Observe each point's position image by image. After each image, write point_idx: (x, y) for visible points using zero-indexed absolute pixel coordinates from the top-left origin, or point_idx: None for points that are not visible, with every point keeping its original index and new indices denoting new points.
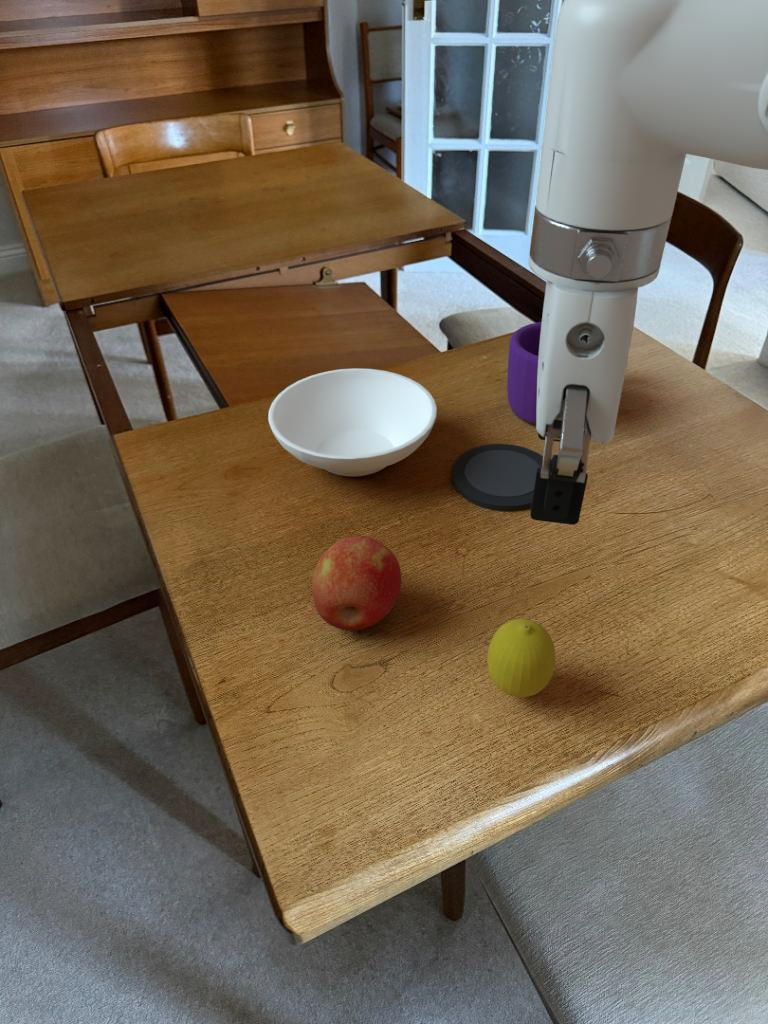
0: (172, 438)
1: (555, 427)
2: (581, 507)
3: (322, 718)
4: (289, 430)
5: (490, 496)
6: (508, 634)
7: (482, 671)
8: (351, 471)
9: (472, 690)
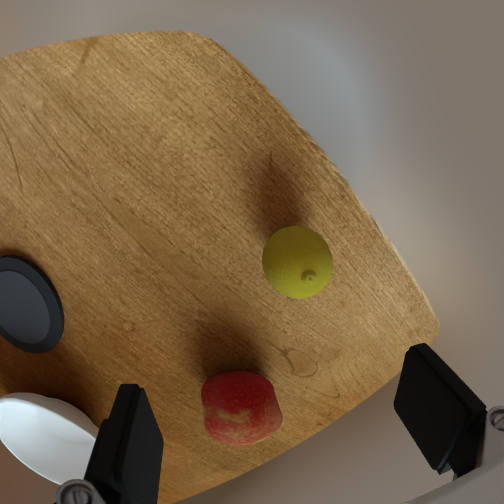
0: None
1: (152, 448)
2: (443, 361)
3: (340, 368)
4: None
5: (51, 316)
6: (313, 291)
7: None
8: None
9: None
